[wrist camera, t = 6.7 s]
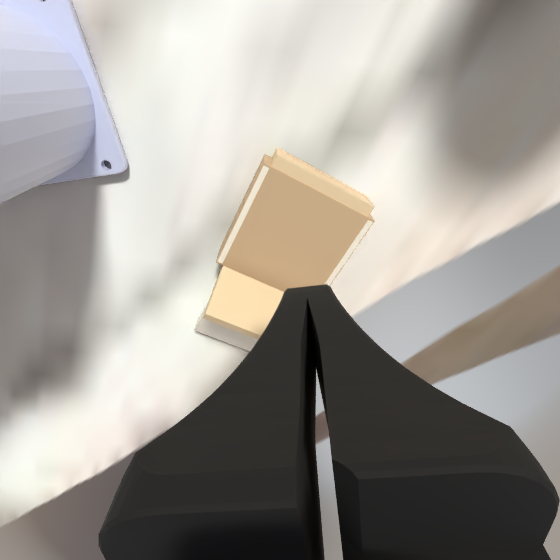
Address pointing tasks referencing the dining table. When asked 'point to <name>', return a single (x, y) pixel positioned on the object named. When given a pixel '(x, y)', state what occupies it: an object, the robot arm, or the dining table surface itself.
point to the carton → (295, 225)
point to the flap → (238, 309)
